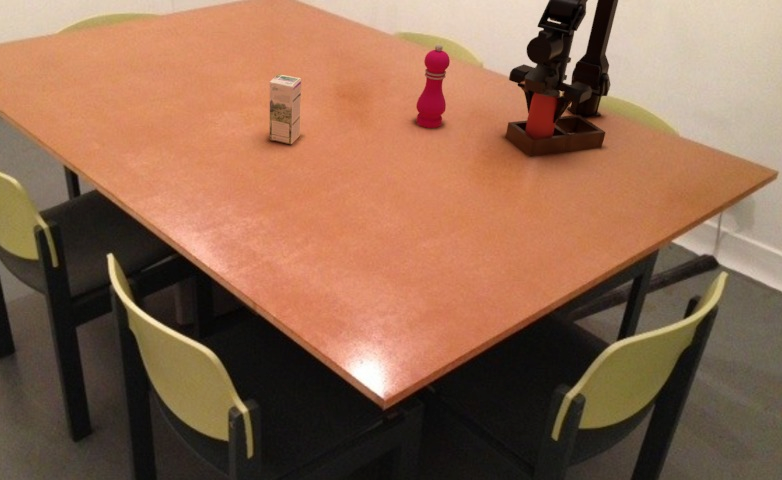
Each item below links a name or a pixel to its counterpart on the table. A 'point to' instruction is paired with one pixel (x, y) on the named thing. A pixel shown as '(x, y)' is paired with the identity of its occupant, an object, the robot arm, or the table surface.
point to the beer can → (542, 114)
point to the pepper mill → (433, 89)
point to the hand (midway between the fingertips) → (542, 118)
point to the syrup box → (285, 108)
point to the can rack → (557, 136)
